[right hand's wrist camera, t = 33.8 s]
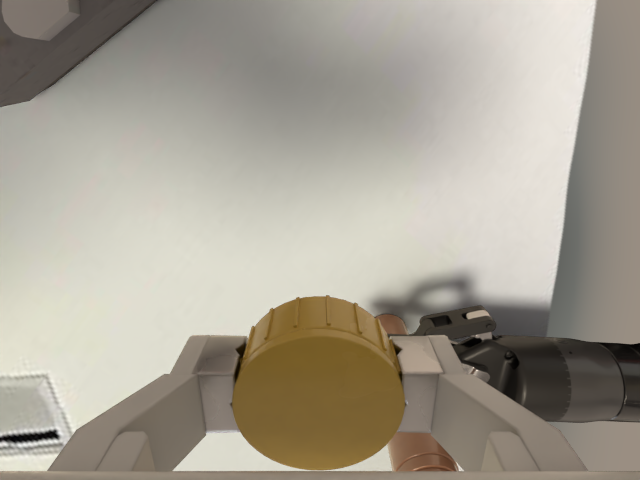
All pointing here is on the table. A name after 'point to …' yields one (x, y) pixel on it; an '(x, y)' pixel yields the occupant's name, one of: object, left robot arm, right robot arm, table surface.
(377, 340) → the cap
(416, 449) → the bottle
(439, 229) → the table surface
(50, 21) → the toy
